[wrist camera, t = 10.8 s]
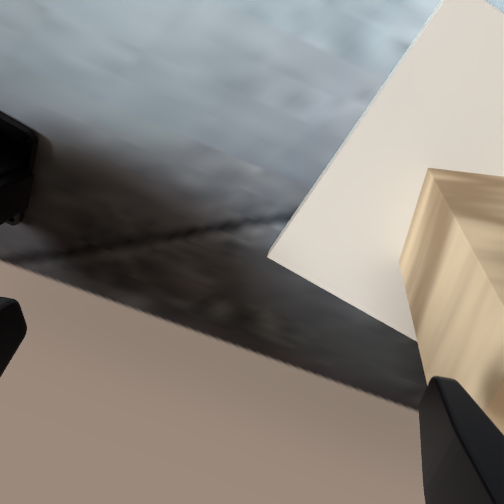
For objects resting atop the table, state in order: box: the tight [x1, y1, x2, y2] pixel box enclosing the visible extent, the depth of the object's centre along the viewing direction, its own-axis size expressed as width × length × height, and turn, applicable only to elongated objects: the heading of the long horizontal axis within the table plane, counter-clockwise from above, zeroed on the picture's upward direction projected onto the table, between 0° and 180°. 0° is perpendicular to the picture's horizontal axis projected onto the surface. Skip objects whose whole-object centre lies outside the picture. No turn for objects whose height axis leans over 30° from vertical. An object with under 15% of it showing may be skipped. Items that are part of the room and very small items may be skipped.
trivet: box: [267, 0, 504, 341], centre depth 19 cm, size 14×14×1 cm
